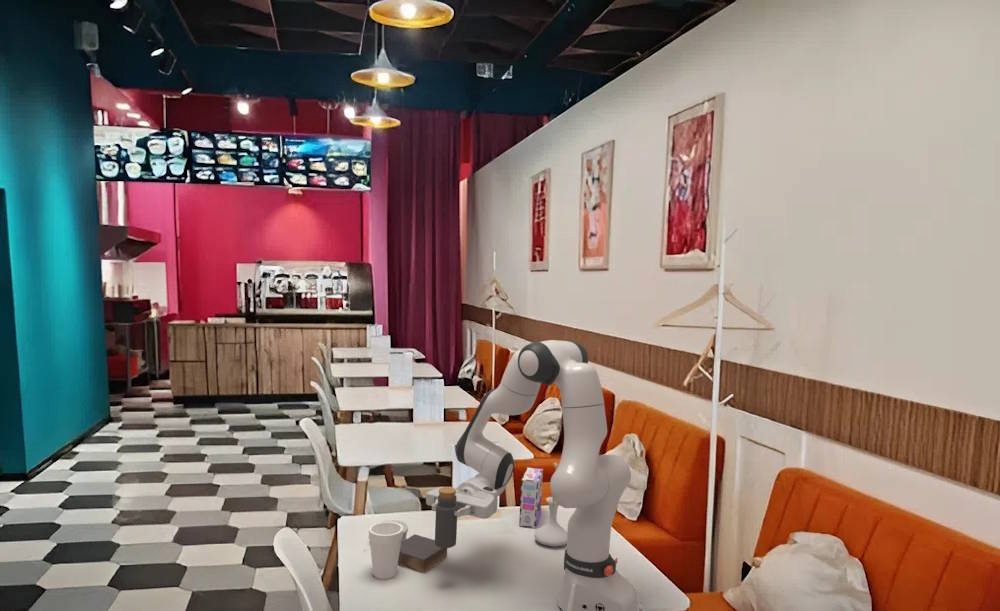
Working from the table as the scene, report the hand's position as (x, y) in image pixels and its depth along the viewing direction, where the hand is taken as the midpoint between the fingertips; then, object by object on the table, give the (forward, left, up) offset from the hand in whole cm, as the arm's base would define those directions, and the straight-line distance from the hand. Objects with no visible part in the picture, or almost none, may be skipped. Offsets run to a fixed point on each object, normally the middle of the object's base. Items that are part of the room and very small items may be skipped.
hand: (445, 511), depth 172 cm
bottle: (0, -1, -9) cm, 10 cm away
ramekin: (+28, -13, -21) cm, 38 cm away
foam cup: (+17, +3, -21) cm, 27 cm away
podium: (+14, -9, -21) cm, 27 cm away
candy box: (-1, -54, -21) cm, 58 cm away
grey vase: (-14, -43, -21) cm, 50 cm away
